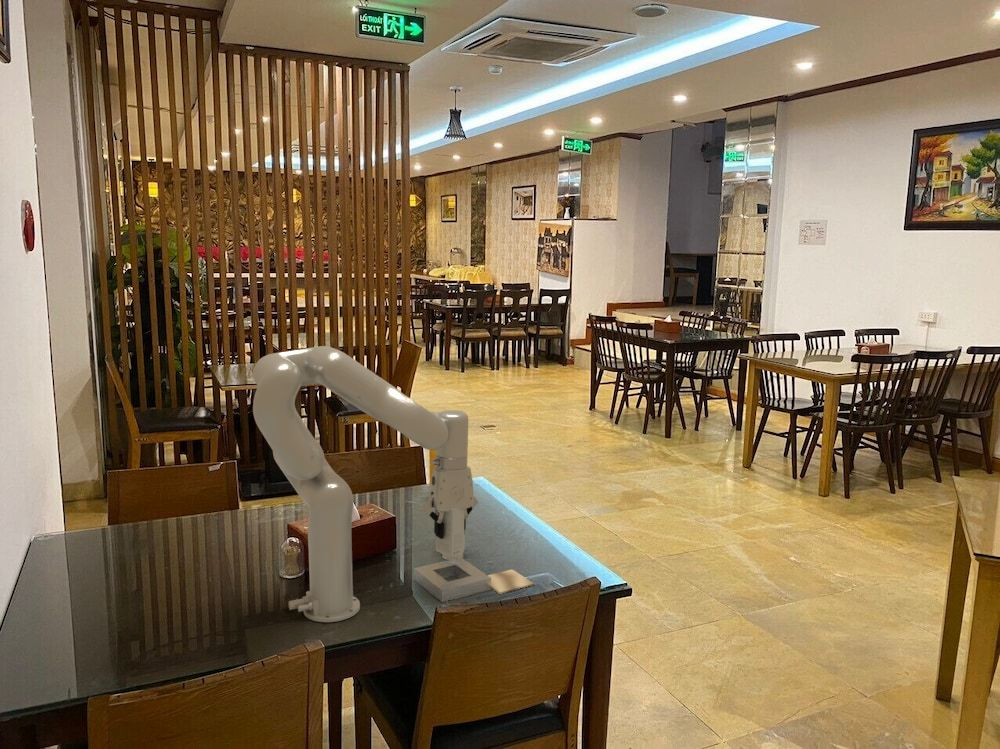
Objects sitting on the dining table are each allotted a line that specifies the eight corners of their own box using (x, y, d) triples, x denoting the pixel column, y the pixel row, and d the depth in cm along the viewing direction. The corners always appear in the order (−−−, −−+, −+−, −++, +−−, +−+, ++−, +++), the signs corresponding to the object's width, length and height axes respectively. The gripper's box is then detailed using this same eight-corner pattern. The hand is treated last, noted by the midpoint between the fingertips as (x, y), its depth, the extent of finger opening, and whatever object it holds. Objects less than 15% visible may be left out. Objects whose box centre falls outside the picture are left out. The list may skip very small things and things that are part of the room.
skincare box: (464, 553, 185) (465, 505, 184) (451, 557, 182) (452, 509, 181) (447, 546, 189) (448, 500, 188) (434, 550, 186) (435, 503, 185)
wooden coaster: (499, 594, 182) (499, 592, 182) (478, 579, 191) (478, 577, 191) (534, 585, 188) (534, 583, 188) (511, 571, 196) (511, 569, 196)
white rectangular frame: (441, 602, 178) (441, 590, 178) (413, 579, 191) (413, 568, 190) (491, 589, 185) (491, 577, 185) (460, 568, 198) (460, 557, 197)
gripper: (426, 470, 175) (425, 546, 178) (490, 462, 184) (487, 534, 187) (412, 462, 181) (411, 536, 184) (474, 455, 190) (472, 525, 193)
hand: (449, 534), depth 185 cm, fingers closed on skincare box, 5 cm apart
